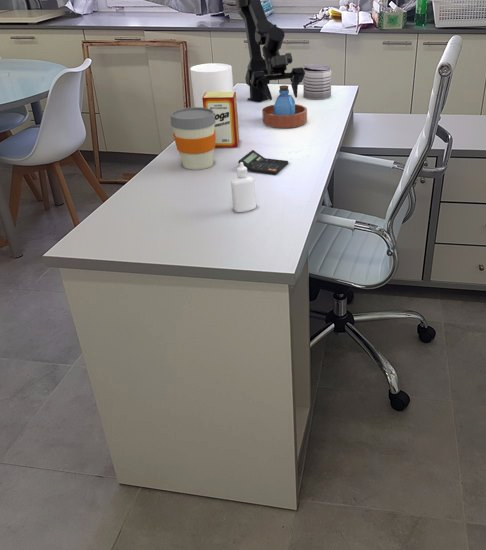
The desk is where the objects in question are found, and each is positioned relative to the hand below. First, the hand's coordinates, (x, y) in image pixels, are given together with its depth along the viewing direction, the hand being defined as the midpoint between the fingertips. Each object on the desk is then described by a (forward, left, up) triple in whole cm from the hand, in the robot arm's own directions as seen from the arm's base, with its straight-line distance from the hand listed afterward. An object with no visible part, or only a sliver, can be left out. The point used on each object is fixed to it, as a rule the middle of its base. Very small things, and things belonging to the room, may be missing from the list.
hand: (283, 98), depth 198 cm
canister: (-15, -19, -8) cm, 26 cm away
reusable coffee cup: (+7, -47, -8) cm, 49 cm away
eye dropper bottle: (+40, -61, -8) cm, 74 cm away
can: (-13, +35, -8) cm, 38 cm away
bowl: (0, 0, -8) cm, 8 cm away
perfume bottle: (0, 0, -8) cm, 8 cm away
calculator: (+24, -37, -8) cm, 45 cm away
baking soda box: (0, -30, -8) cm, 31 cm away
